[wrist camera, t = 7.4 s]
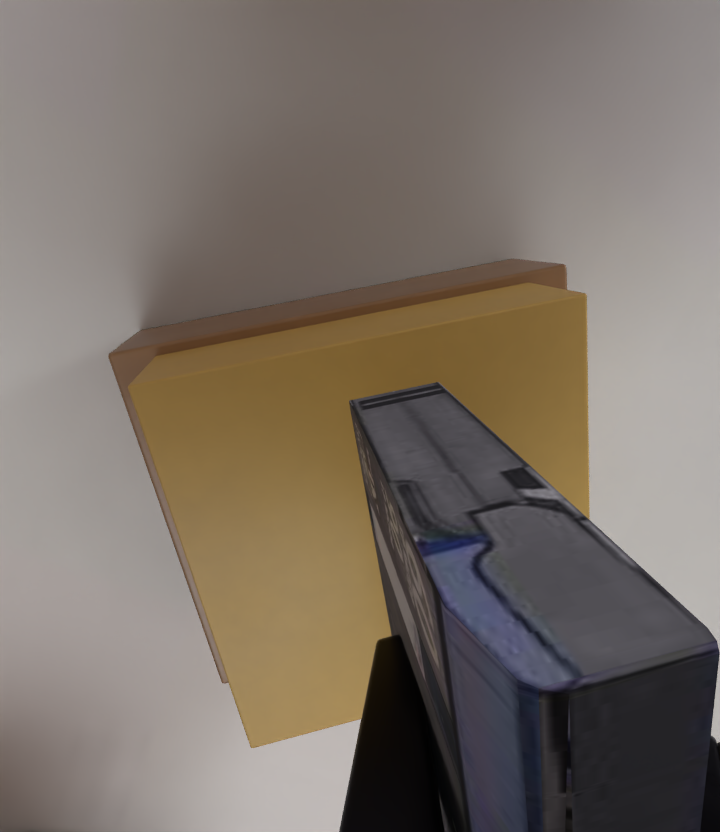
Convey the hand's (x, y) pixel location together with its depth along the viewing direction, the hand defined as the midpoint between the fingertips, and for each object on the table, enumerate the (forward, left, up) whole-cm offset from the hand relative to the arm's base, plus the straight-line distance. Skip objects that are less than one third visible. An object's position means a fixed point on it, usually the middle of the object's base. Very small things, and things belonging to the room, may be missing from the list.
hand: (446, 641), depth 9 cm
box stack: (0, 0, -9) cm, 9 cm away
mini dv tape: (0, 0, -2) cm, 2 cm away
